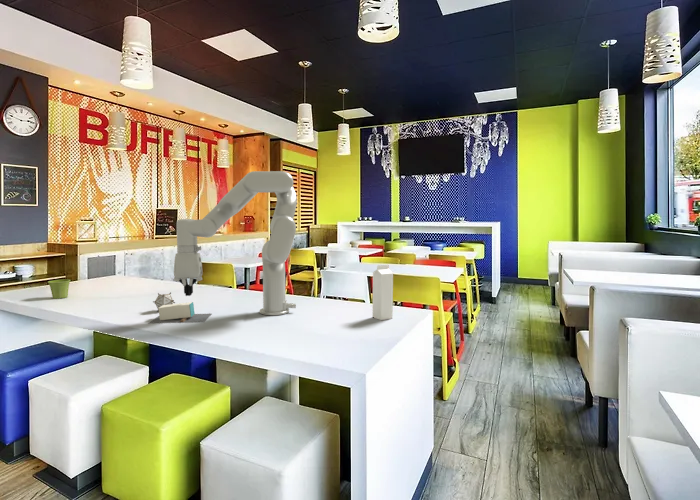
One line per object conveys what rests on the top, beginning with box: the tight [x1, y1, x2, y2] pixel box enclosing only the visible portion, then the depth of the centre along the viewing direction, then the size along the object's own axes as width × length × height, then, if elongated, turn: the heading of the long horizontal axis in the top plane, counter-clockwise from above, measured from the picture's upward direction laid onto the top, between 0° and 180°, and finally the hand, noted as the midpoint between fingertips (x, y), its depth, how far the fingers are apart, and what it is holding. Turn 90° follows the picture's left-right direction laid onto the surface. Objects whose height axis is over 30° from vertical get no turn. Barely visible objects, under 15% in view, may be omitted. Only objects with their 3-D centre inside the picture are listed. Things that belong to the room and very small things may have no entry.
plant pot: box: [47, 279, 71, 300], centre depth 201 cm, size 9×9×9 cm
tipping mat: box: [147, 313, 213, 325], centre depth 160 cm, size 21×14×1 cm, turn 97°
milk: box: [372, 264, 394, 321], centre depth 163 cm, size 6×6×22 cm
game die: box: [152, 292, 176, 313], centre depth 174 cm, size 9×8×10 cm
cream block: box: [157, 301, 196, 320], centre depth 160 cm, size 5×5×12 cm
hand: (188, 295), depth 160 cm, fingers closed
